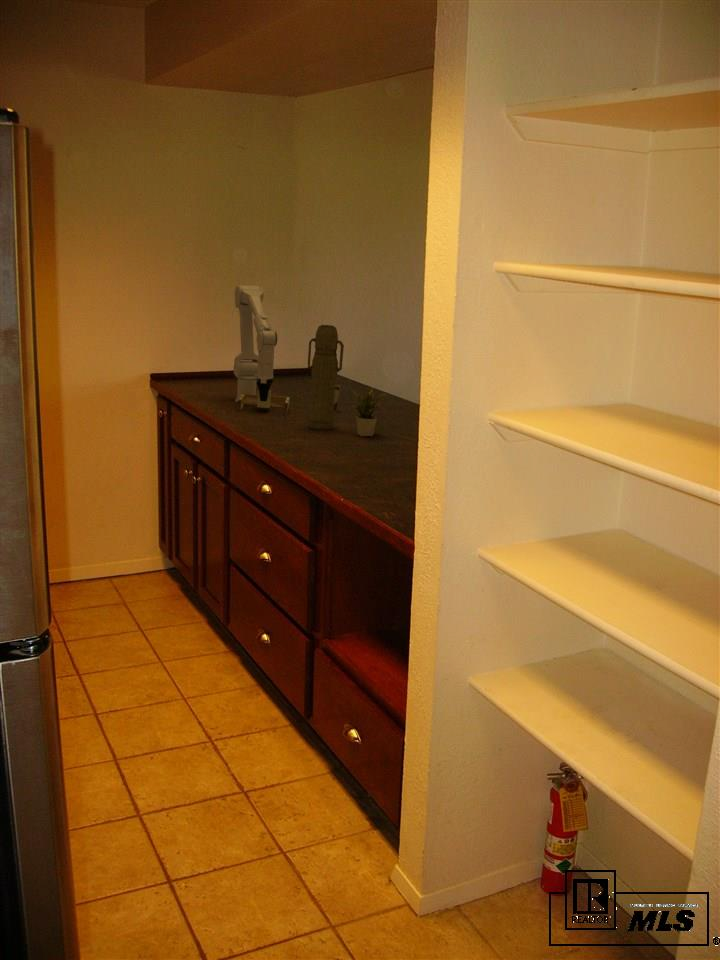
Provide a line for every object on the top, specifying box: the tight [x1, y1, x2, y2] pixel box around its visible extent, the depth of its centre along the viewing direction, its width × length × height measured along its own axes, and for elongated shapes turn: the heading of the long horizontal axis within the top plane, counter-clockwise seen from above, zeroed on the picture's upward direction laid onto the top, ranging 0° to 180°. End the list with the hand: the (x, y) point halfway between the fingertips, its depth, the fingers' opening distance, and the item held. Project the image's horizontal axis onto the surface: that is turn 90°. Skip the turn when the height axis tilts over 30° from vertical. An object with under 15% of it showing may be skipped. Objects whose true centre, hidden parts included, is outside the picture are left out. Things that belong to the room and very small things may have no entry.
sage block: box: [256, 389, 272, 409], centre depth 352 cm, size 4×4×6 cm
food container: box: [334, 384, 341, 412], centre depth 359 cm, size 12×6×10 cm, turn 145°
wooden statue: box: [307, 324, 345, 431], centre depth 326 cm, size 9×12×35 cm
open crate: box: [237, 394, 291, 415], centre depth 355 cm, size 15×18×4 cm
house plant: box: [350, 387, 388, 437], centre depth 320 cm, size 14×14×16 cm
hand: (264, 399), depth 352 cm, fingers closed on sage block, 4 cm apart
